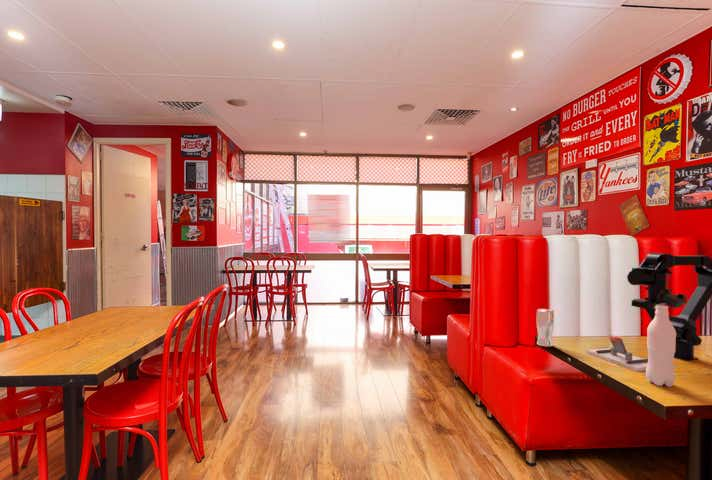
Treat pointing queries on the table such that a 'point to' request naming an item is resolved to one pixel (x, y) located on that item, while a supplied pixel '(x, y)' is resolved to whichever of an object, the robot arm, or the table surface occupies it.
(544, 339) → the beer glass
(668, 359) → the water bottle
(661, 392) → the table surface
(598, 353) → the plate
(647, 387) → the table surface
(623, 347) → the lever
